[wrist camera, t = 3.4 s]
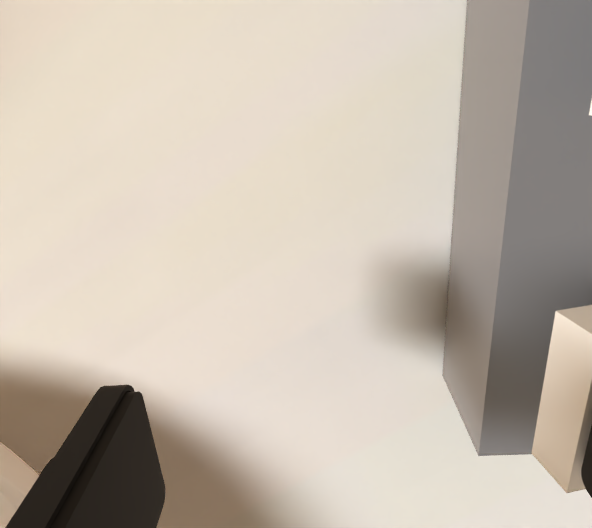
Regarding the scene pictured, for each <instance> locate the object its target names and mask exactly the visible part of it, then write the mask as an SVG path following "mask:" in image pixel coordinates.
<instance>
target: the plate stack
mask: <svg viewBox="0 0 592 528" xmlns="http://www.w3.org/2000/svg"><path fill="white" fill-rule="evenodd" d="M38 477H39V475H38V474H37V473H36V472H35V471H34V470H33V469H32V468H31V467H30V466H29V465H28V464H27V463H25V462H24V461H23V460H22V459H21V458H20V457H18V456H17V455H16V454H15V453H14V452H12V451H11V450H10V449H9V448H7V447H6V446H5V445H4V444H2V443H1V442H0V528H5V527H6V526H7V524H8V523H9V521H10V520H11V518H12V517H13V515H14V514H15V512H16V511H17V509H18V508H19V506H20V504H21V503H22V501H23V500H24V498H25V497H26V495H27V494H28V492H29V491H30V489H31V488H32V486H33V485H34V483H35V482H36V480H37V479H38Z"/></svg>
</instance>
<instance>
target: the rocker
mask: <svg viewBox="0 0 592 528" xmlns="http://www.w3.org/2000/svg"><path fill="white" fill-rule="evenodd" d="M591 426H592V305H588V306H582V307H576V308H569V309H563V310H557V311H556V312H555V318H554V324H553V330H552V335H551V341H550V347H549V353H548V359H547V365H546V371H545V377H544V383H543V388H542V394H541V400H540V406H539V412H538V418H537V424H536V430H535V436H534V441H533V447H532V454H533V455H534V457H535V458H536V459H537V460H538V461H539V462H540V463H541V464H542V466H543V467H544V468H545V469H546V470H547V471H548V472H549V474H550V475H551V476H552V477H553V478H554V479H555V480H556V481H557V483H558V484H559V485H560V486H561V487H562V488H563V489H564V491H565V492H566V493H570V492H574V491H578V490H583V489H586V488H585V486H584V484H583V481H582V477H581V468H582V464H583V460H584V455H585V451H586V447H587V443H588V438H589V434H590V430H591Z"/></svg>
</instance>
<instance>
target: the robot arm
mask: <svg viewBox="0 0 592 528" xmlns="http://www.w3.org/2000/svg"><path fill="white" fill-rule="evenodd" d="M581 477H582V481H583V484H584V486H585V488H586V490H587V491H588V493H589V494H590V496H591V497H592V426H591V430H590V434H589V438H588V443H587V447H586V451H585V455H584V460H583V464H582V468H581ZM164 500H165V484H164V480H163V476H162V472H161V468H160V464H159V460H158V456H157V452H156V448H155V444H154V440H153V436H152V432H151V428H150V424H149V420H148V416H147V412H146V408H145V404H144V400H143V396H142V394H141V393H140V392H134V389H133V387H132V386H130V385H118V386H103V387H100V388H99V390H98V391H97V392H96V394H95V395H94V397H93V398H92V400H91V401H90V403H89V405H88V406H87V408H86V409H85V411H84V412H83V414H82V415H81V417H80V418H79V420H78V422H77V423H76V425H75V426H74V428H73V429H72V431H71V432H70V434H69V435H68V437H67V439H66V440H65V442H64V443H63V445H62V446H61V448H60V449H59V451H58V452H57V454H56V456H55V457H54V458H52V459H51V460H50V461H49V463H48V464H47V465H46V466H45V468H44V469H43V471H42V472H41V474H40V475H39V477H38V479H37V480H36V482H35V483H34V485H33V486H32V488H31V489H30V491H29V492H28V494H27V495H26V497H25V498H24V500H23V501H22V503H21V504H20V506H19V508H18V509H17V511H16V512H15V514H14V515H13V517H12V518H11V520H10V521H9V523H8V524H7V526H6V527H5V528H156V526H157V523H158V520H159V517H160V514H161V511H162V508H163V505H164Z"/></svg>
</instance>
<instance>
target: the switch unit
mask: <svg viewBox="0 0 592 528" xmlns="http://www.w3.org/2000/svg"><path fill="white" fill-rule="evenodd" d="M591 100H592V0H467V12H466V27H465V42H464V58H463V73H462V88H461V103H460V118H459V133H458V149H457V164H456V179H455V194H454V209H453V224H452V239H451V255H450V270H449V285H448V300H447V315H446V330H445V346H444V361H443V378H444V380H445V382H446V384H447V386H448V389H449V391H450V393H451V395H452V398H453V400H454V402H455V404H456V407H457V409H458V411H459V413H460V415H461V418H462V420H463V422H464V424H465V427H466V429H467V431H468V433H469V436H470V438H471V440H472V442H473V444H474V447H475V449H476V451H477V453H478V456H487V455H518V454H532V447H533V441H534V436H535V430H536V424H537V418H538V412H539V406H540V400H541V394H542V388H543V383H544V377H545V371H546V365H547V359H548V353H549V347H550V341H551V335H552V330H553V324H554V318H555V312H556V311H557V310H563V309H569V308H576V307H582V306H588V305H592V115H589V112H590V106H591Z"/></svg>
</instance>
